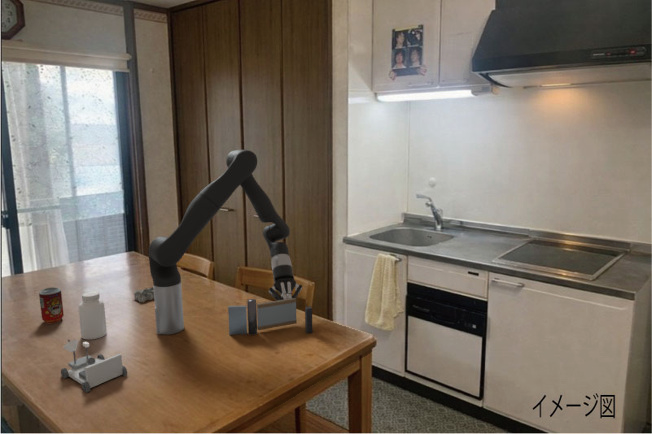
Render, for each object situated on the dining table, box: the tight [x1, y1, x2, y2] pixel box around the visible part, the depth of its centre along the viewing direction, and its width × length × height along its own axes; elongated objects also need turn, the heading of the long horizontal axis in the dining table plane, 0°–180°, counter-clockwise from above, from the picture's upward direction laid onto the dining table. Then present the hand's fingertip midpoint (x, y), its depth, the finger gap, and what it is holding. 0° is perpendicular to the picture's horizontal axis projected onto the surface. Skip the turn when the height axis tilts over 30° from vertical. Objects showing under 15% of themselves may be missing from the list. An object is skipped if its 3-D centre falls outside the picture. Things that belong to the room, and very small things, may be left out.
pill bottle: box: [78, 291, 107, 340], centre depth 162 cm, size 8×8×15 cm
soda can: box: [38, 286, 64, 325], centre depth 175 cm, size 7×7×12 cm
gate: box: [256, 298, 297, 331], centre depth 167 cm, size 14×1×9 cm, turn 114°
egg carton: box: [132, 286, 154, 303], centre depth 200 cm, size 11×8×4 cm
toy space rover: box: [60, 339, 128, 393], centre depth 136 cm, size 18×10×12 cm
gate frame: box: [227, 298, 314, 336], centre depth 164 cm, size 29×3×12 cm, turn 92°
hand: (289, 311), depth 170 cm, fingers closed
